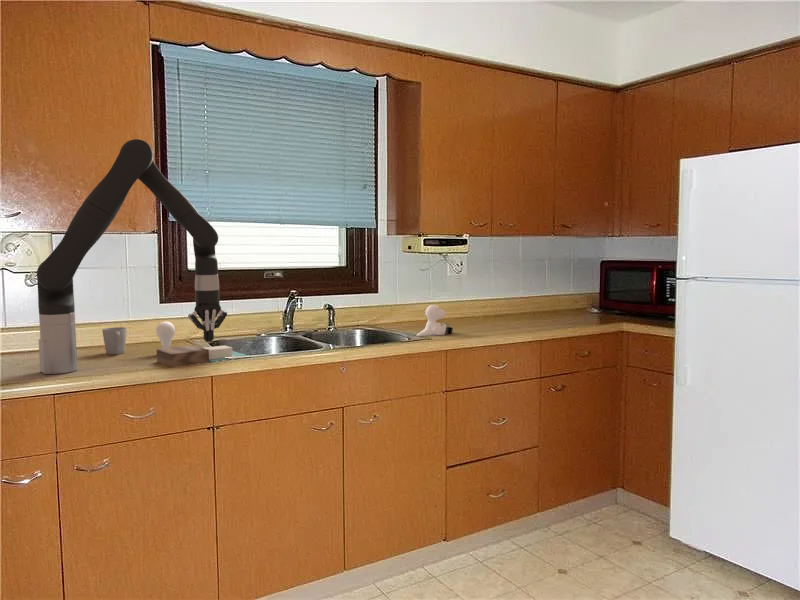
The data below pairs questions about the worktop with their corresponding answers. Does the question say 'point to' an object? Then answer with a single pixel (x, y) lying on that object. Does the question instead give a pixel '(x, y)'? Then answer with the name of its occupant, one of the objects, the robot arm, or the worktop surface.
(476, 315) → the worktop surface
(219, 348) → the pale pink rectangular block
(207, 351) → the brown wooden block
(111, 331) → the cup
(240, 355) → the mat
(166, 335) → the lightbulb
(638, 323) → the worktop surface
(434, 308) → the figurine
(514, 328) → the worktop surface
